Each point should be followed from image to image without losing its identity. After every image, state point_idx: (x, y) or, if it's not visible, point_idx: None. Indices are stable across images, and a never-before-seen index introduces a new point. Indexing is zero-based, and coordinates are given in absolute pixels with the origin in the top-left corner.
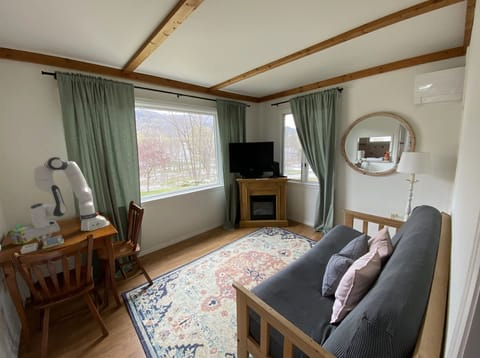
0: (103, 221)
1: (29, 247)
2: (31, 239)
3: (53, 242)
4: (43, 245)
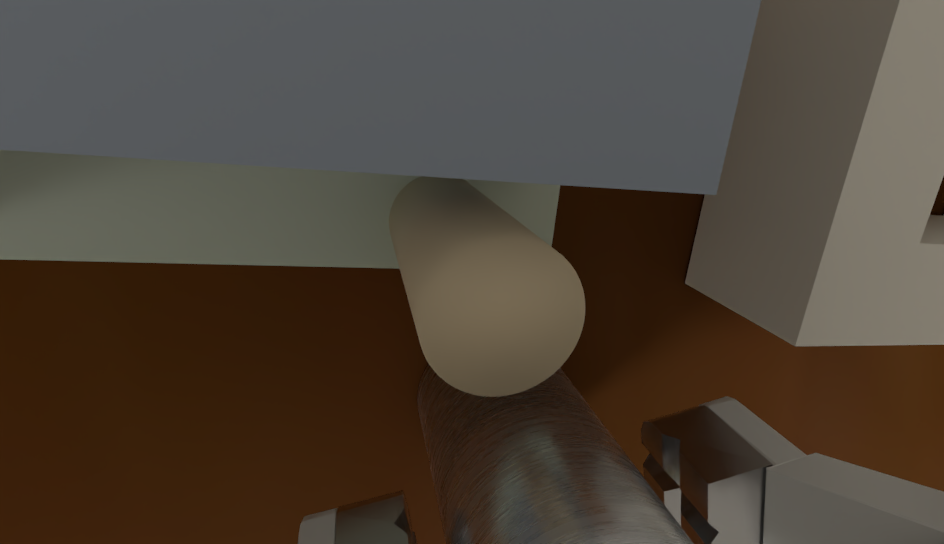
0: None
1: None
2: None
3: None
4: None
